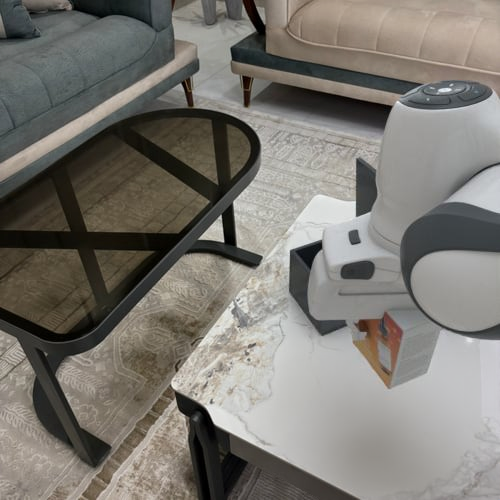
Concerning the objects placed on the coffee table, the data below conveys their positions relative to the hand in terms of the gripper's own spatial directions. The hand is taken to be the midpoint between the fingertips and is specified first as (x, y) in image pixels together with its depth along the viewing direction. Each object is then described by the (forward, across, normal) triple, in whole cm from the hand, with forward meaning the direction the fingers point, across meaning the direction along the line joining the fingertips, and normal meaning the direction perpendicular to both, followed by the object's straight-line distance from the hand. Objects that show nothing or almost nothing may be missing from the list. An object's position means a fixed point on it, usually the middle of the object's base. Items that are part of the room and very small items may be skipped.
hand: (392, 335), depth 59 cm
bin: (+23, +1, -28) cm, 36 cm away
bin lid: (+4, -4, -31) cm, 31 cm away
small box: (+4, 0, 0) cm, 4 cm away
